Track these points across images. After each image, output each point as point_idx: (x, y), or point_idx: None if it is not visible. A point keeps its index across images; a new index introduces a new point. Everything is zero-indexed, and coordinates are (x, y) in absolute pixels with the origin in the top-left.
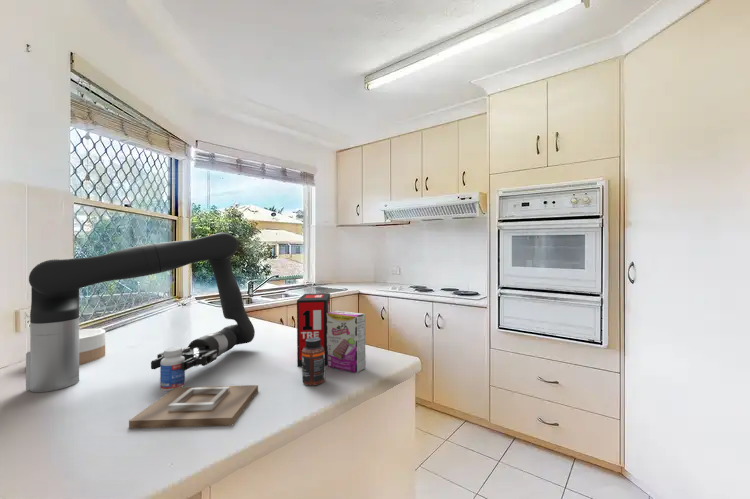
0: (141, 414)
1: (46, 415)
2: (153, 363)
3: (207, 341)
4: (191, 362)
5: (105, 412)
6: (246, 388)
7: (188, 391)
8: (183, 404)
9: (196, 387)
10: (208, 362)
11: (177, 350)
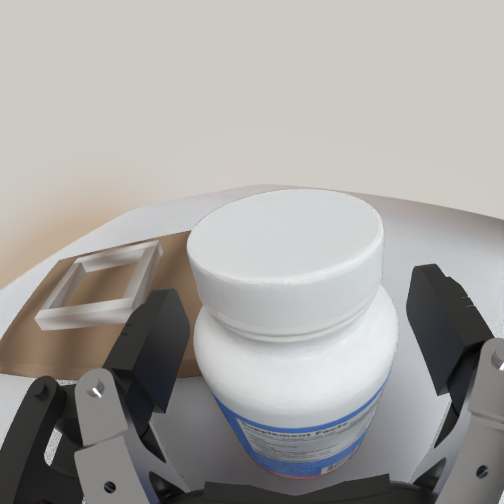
0: None
1: (454, 229)
2: (412, 276)
3: None
4: (125, 333)
5: None
6: (10, 344)
7: (132, 286)
8: (128, 248)
9: None
10: (59, 448)
11: (205, 219)
